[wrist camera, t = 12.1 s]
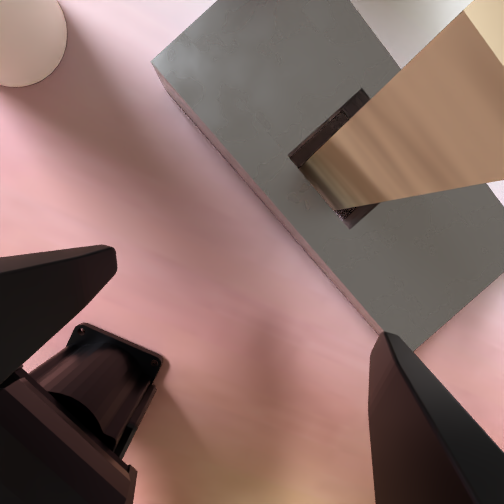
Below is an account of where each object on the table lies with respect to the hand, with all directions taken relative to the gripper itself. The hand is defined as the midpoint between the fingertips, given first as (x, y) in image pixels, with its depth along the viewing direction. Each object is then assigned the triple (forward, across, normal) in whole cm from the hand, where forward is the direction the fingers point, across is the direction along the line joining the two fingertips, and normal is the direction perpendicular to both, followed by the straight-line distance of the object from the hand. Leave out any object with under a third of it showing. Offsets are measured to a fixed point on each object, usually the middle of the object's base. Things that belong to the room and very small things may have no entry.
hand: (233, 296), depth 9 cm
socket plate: (+14, -2, -2) cm, 15 cm away
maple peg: (+14, -2, -2) cm, 15 cm away
